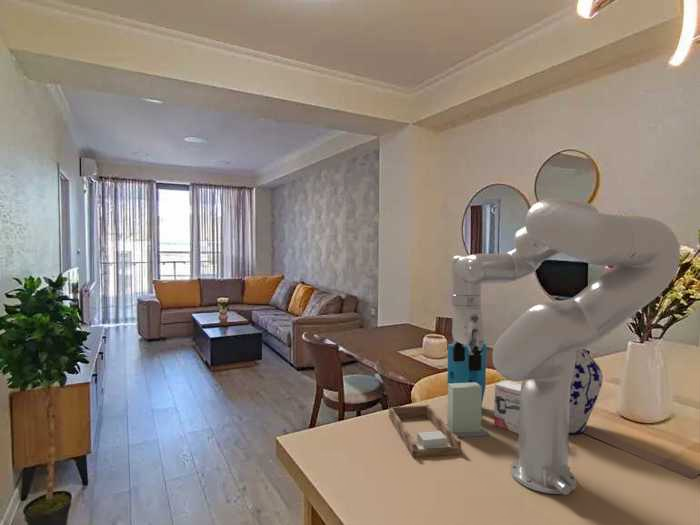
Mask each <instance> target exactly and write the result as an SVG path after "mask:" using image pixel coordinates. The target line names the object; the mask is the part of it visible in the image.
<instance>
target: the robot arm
mask: <svg viewBox="0 0 700 525" xmlns="http://www.w3.org/2000/svg"><path fill="white" fill-rule="evenodd" d="M513 243H514V247H515V248H514V249H512V250H509V251H508V252H506V253H473V254H461V255H460V254H458V255H457V254H456V255H454V256H452V258H451V260H450V261H451V267H450V268H451V269H450V270H451V276H450V277H451V307H452V308H453V309H452V319H451V320H452V322H451V323H452V324H451V325H452V327H451V335H452V337H451V340H452V344H453V361H455V362H460V361H465V347H462V346H463V345H465V346H468V349H469V353H470V355H468V369H469V370H470V371H480V370H481V355H482V350H483V344H484V343H485V339H484V338H485V337H484V336H485V335H484V322H483V321H484V319H483V314H482V313H483V312H482V285H490V284H507V283H511V282H515V281H517V280H521V278H524V277H527V276H529V275H531V274H533V273H534V272H536V270H538V269H539V267H540V266H541V265H542V263H543V262H544V261H547V260H549V259H551V258H553V257H555V256H557V255H560V254H565V255H567V256H569V257H570V258H574V259H576V260H579V261H581V262H583V263H587V264H591V265H595V266H602V267H603V266H604V267H606V266H607V267H608V266H609V267H610V266H612V268H610V269H609V270H607V271H606V272H603V273H602V274H601V275H599V276H597V277H596V278H594V279H593V280H592V281H591V282H590V283H589V284H588V285H587V286H586V287H584V288H583V289H581V291H579V293H578V294H576V295H574V296H573V297H572V298H569V299H562V300H555V301H554V300H553V301H544V302H541V303H537V304H536V305H533V306H531V307H529V308H528V309H527V310H526V311H524V313H523V314H521V315H520V316H519V317H518V318H517V319H516V320H515V321H514V322H512V324H511V325H510V326H509V327H508V328H507V329H506V330H505V331H504V332H503V333H502V334H501V335H500V336H499V337H498V338H497V340H496V342H495V343H494V346H493V349H492V357H491V358H492V363H493V366H494V368H495V370H496V372H497V373H498V374H499V375H500V376H501V377H503V378H505V379H506V380H508V381H510V382H521V385H522V386H521V391H520V411H519V433H518V459H515V460H514V461H513V462H511V465H510V474H511V475H512V477H513V478H514V480H516V481H517V482H518V483H519V484H521V485H523V486H524V487H526V488H529V489H531V490H534V491H536V492H540V493H544V494H550V495H551V494H552V495H564V496H567V495H569V494H570V492H573V491H574V490H575V489H576V488H577V486H578V484H577V479H576V476H575V475H574V474H573V473H572V471H571V468H570V466H568V465H569V464H568V463H569V436H570V435H569V402H570V387H571V381H572V376H573V372H574V368H575V362H576V352H575V351H576V350H582V349H585V350H586V349H590V348H591V347H593V346H596V345H597V344H599V342H601V341H602V340H603V339H604V338H606V337H607V336H608V335H610V334H611V333H612V332H613V331H615V330H616V329H618V328H619V327H620V326H622V324H624V323H625V322H627V321H628V320H629V319H630V318H631V317H632V316H634V315H635V314H636V313H638V312H639V311H641V309H643V308H644V307H646V306H647V305H648V304H650V303H652V301H653V300H655V299H656V298H657V297H658V296H659V295H661V294H662V292H664V291H665V290H666V289H667V287H669V285H670V283H671V282H672V281H673V280H674V277H675V275H676V274H677V272H678V268H679V265H680V259H681V250H680V245H679V240H678V238H677V236H676V234H675V233H674V231H673V230H672V229H671V227H669V226H668V225H667V224H666V223H664V222H662V221H660V220H657V219H654V218H652V217H647V216H640V215H623V214H607V213H602V212H599V210H598V209H597V207H595V206H594V205H593V204H591V203H590V202H587V201H584V200H581V199H572V198H571V199H569V198H559V197H548V198H544V199H541V200H539V201H537V202H536V203H534V204H533V205H532V206H531V207H530V208H529V209H528V211H527V213H526V216H525V219H524V226H522V227H520V228H519V229H518V230H517V231H516V233H515V234H514V238H513ZM472 347H474V349H472Z"/></svg>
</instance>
